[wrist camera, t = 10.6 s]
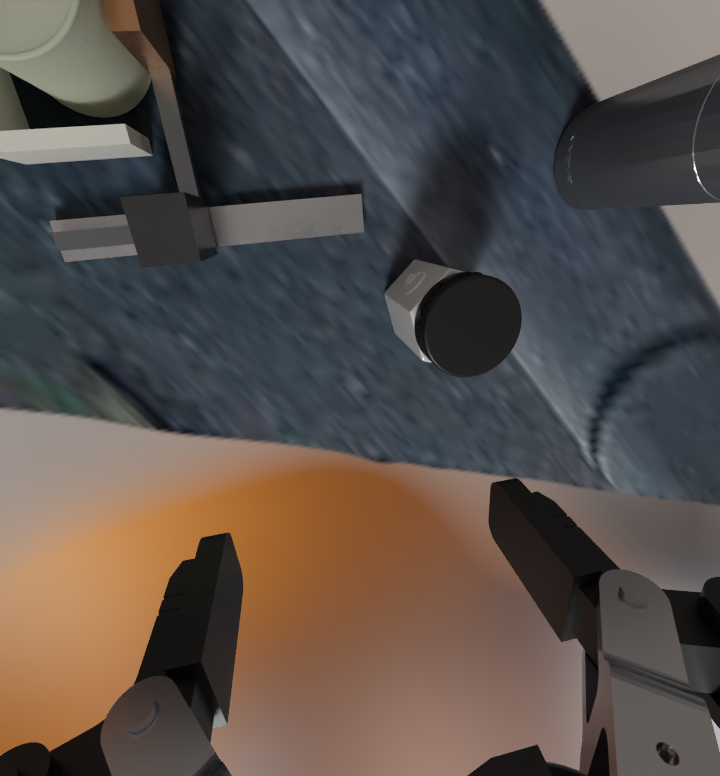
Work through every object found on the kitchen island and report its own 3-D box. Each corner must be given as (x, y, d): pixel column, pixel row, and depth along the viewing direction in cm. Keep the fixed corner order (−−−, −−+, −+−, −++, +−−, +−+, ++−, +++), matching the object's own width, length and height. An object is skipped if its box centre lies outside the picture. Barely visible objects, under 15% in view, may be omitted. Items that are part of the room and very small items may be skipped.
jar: (428, 239, 38) (484, 245, 27) (477, 294, 41) (545, 319, 30) (367, 307, 40) (398, 339, 29) (419, 355, 43) (464, 400, 32)
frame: (87, -92, 26) (44, -160, 21) (153, 155, 32) (130, 143, 27) (-73, -93, 24) (-155, -166, 20) (26, 164, 30) (-20, 153, 26)
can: (25, 105, 29) (-131, 32, 18) (-1, -60, 26) (-213, -270, 15) (157, 128, 31) (88, 76, 20) (149, -22, 28) (59, -183, 17)
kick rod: (160, -9, 27) (114, -94, 20) (219, 253, 34) (200, 261, 27) (-27, -5, 26) (-151, -96, 18) (75, 268, 33) (15, 280, 26)
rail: (359, 194, 35) (361, 193, 34) (362, 231, 37) (364, 232, 36) (56, 221, 32) (49, 221, 31) (70, 260, 33) (64, 261, 32)
